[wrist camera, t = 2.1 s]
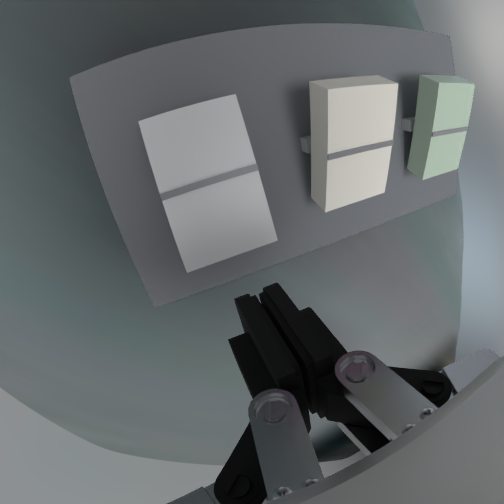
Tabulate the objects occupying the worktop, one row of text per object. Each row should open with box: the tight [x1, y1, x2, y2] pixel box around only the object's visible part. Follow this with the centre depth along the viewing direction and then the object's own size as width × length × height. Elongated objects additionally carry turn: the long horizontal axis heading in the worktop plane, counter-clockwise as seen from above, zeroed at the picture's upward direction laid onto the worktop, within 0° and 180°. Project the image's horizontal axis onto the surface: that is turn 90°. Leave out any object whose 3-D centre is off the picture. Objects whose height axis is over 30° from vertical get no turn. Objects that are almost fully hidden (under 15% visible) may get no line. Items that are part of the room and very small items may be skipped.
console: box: [69, 23, 458, 308], centre depth 19 cm, size 14×26×7 cm, turn 103°
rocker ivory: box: [309, 75, 398, 212], centre depth 15 cm, size 7×4×2 cm, turn 13°
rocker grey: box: [138, 94, 278, 273], centre depth 14 cm, size 7×4×2 cm, turn 13°
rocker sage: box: [407, 75, 475, 180], centre depth 17 cm, size 7×4×2 cm, turn 13°
